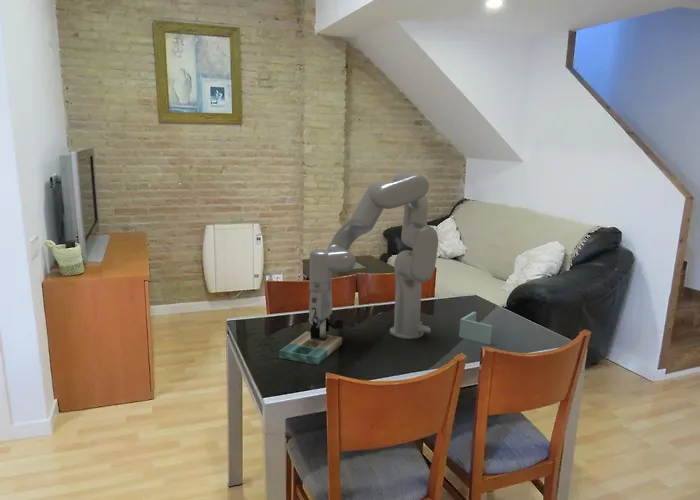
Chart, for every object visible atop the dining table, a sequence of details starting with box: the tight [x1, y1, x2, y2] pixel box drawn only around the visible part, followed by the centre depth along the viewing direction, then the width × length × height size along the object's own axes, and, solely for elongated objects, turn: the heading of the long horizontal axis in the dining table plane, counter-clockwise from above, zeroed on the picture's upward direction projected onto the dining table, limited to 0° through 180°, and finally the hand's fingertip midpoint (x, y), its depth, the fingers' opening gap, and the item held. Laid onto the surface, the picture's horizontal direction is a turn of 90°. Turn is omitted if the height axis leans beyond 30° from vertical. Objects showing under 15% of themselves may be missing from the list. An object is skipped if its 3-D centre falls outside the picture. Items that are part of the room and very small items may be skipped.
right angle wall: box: [458, 311, 493, 346], centre depth 196 cm, size 12×12×8 cm
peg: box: [314, 319, 327, 341], centre depth 185 cm, size 4×4×9 cm
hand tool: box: [328, 314, 344, 329], centre depth 210 cm, size 19×4×5 cm, turn 29°
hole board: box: [278, 331, 343, 366], centre depth 179 cm, size 14×20×2 cm
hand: (319, 333), depth 185 cm, fingers open, 7 cm apart
